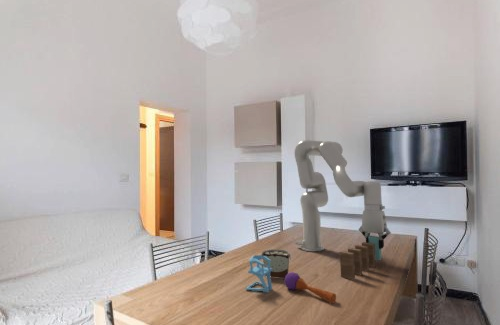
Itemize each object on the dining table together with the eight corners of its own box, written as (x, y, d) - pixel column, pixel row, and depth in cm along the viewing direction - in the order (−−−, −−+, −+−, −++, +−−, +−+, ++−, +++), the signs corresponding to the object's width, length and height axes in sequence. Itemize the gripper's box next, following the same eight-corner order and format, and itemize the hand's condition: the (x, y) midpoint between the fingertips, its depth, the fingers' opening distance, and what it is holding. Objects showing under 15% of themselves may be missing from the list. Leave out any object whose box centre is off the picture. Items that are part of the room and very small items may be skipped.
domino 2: (360, 275, 120) (359, 250, 120) (348, 272, 123) (347, 248, 123) (362, 274, 121) (361, 249, 121) (350, 271, 125) (350, 247, 125)
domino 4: (373, 267, 129) (372, 244, 129) (362, 265, 132) (361, 242, 133) (375, 266, 130) (374, 243, 130) (364, 264, 134) (363, 242, 134)
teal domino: (380, 260, 133) (379, 237, 133) (369, 257, 137) (368, 236, 137) (381, 259, 134) (380, 237, 135) (371, 257, 138) (370, 235, 138)
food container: (294, 274, 123) (293, 250, 123) (291, 279, 117) (290, 254, 118) (265, 271, 127) (265, 248, 127) (261, 276, 121) (261, 252, 122)
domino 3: (367, 271, 124) (366, 247, 124) (355, 268, 128) (355, 245, 128) (369, 270, 125) (368, 246, 126) (357, 267, 129) (357, 244, 129)
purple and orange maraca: (327, 294, 93) (280, 274, 108) (328, 311, 94) (281, 289, 109) (337, 286, 97) (290, 267, 112) (338, 302, 98) (292, 282, 113)
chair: (265, 295, 103) (264, 260, 103) (245, 290, 107) (245, 257, 108) (275, 287, 110) (274, 255, 110) (256, 283, 114) (255, 252, 114)
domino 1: (352, 279, 115) (351, 254, 115) (340, 276, 119) (340, 251, 119) (355, 278, 116) (354, 253, 117) (343, 275, 120) (342, 250, 120)
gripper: (395, 208, 133) (397, 248, 132) (359, 206, 145) (360, 243, 144) (388, 210, 128) (391, 252, 127) (352, 207, 140) (353, 246, 139)
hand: (374, 247), depth 136 cm, fingers closed on teal domino, 4 cm apart
